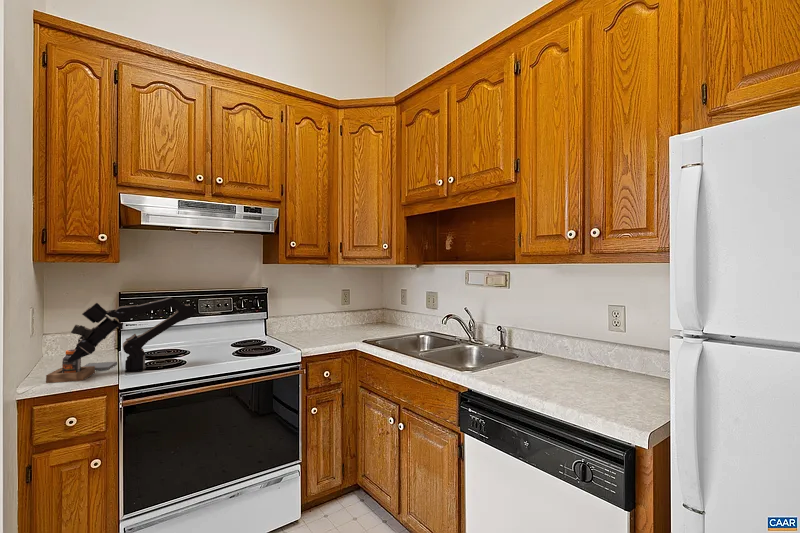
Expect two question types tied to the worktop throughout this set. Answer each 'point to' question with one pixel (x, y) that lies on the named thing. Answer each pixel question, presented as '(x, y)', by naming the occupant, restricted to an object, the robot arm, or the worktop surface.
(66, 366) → the pill bottle
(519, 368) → the worktop surface
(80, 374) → the bottle holder
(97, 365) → the rubber mat
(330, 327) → the worktop surface
